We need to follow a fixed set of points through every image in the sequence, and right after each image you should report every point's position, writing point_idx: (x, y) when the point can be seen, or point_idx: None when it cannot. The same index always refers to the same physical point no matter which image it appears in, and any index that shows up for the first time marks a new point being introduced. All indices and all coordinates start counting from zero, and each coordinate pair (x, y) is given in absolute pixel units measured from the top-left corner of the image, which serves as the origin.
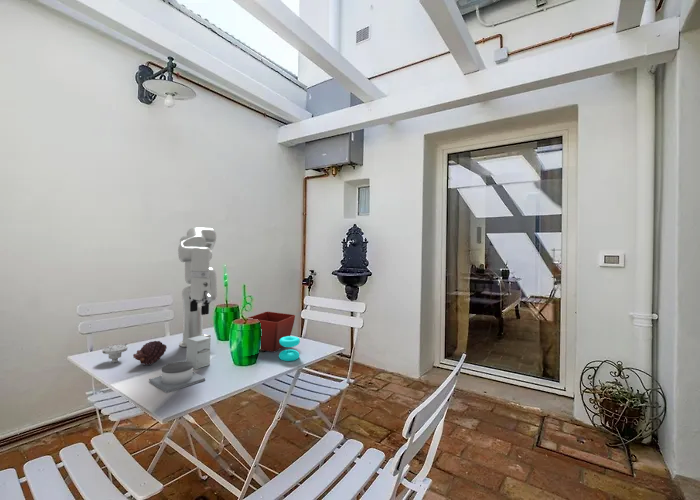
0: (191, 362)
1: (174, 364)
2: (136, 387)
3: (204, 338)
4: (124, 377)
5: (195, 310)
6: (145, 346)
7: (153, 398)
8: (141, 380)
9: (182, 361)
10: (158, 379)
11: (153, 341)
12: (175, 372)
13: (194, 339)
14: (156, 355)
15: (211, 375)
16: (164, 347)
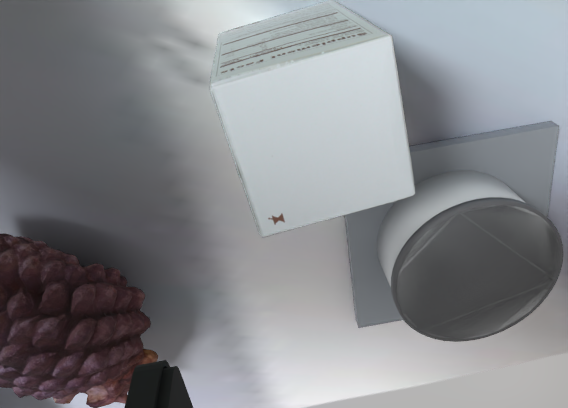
0: (480, 203)
1: (435, 284)
2: (381, 358)
3: (380, 106)
4: (231, 381)
5: (186, 400)
6: (69, 394)
7: (536, 328)
8: (316, 338)
9: (419, 240)
10: (392, 300)
11: (5, 366)
12: (540, 296)
13: (347, 196)
14: (127, 305)
15: (515, 64)
16: (27, 268)
